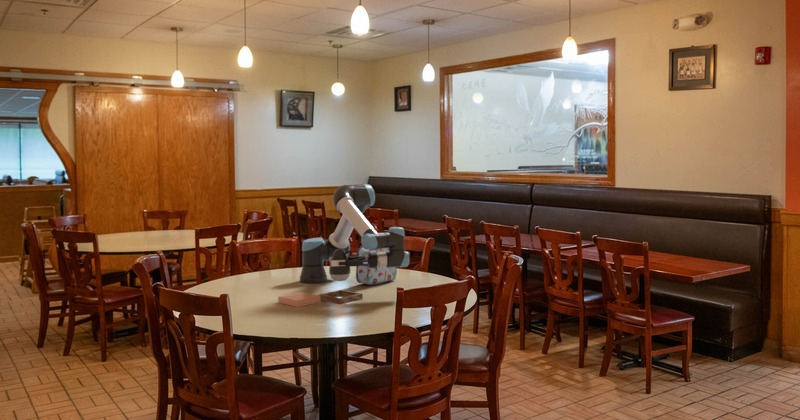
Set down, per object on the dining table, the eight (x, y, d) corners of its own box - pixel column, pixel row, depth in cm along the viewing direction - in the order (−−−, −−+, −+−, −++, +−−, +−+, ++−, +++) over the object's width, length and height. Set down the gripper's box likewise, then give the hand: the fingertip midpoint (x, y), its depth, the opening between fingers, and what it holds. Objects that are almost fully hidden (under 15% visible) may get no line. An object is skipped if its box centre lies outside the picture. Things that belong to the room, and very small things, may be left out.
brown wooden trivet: (341, 294, 335) (341, 289, 335) (362, 298, 325) (362, 293, 325) (318, 299, 324) (318, 294, 324) (339, 304, 314) (339, 298, 314)
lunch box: (385, 278, 380) (385, 239, 379) (400, 279, 374) (400, 240, 372) (353, 285, 359) (353, 244, 357) (368, 287, 352) (368, 245, 351)
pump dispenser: (352, 281, 320) (351, 249, 318) (330, 282, 318) (329, 250, 317) (349, 277, 330) (349, 246, 328) (328, 278, 328) (328, 247, 327)
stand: (301, 297, 329) (301, 291, 329) (320, 301, 319) (320, 295, 319) (278, 302, 319) (278, 296, 318) (297, 306, 309) (297, 300, 309)
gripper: (380, 271, 316) (332, 273, 312) (373, 264, 338) (328, 265, 333) (380, 255, 315) (332, 257, 311) (373, 249, 337) (328, 250, 333)
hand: (330, 261), depth 322 cm, fingers closed on pump dispenser, 9 cm apart
